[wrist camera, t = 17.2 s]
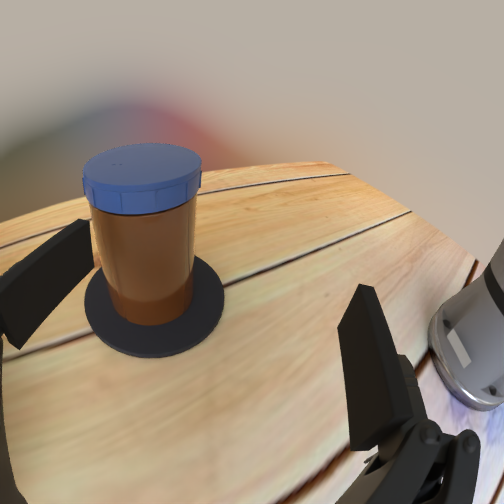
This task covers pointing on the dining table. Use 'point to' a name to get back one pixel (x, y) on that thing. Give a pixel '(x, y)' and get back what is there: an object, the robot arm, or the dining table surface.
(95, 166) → the lid
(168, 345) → the coaster
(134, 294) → the jar
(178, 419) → the dining table surface
